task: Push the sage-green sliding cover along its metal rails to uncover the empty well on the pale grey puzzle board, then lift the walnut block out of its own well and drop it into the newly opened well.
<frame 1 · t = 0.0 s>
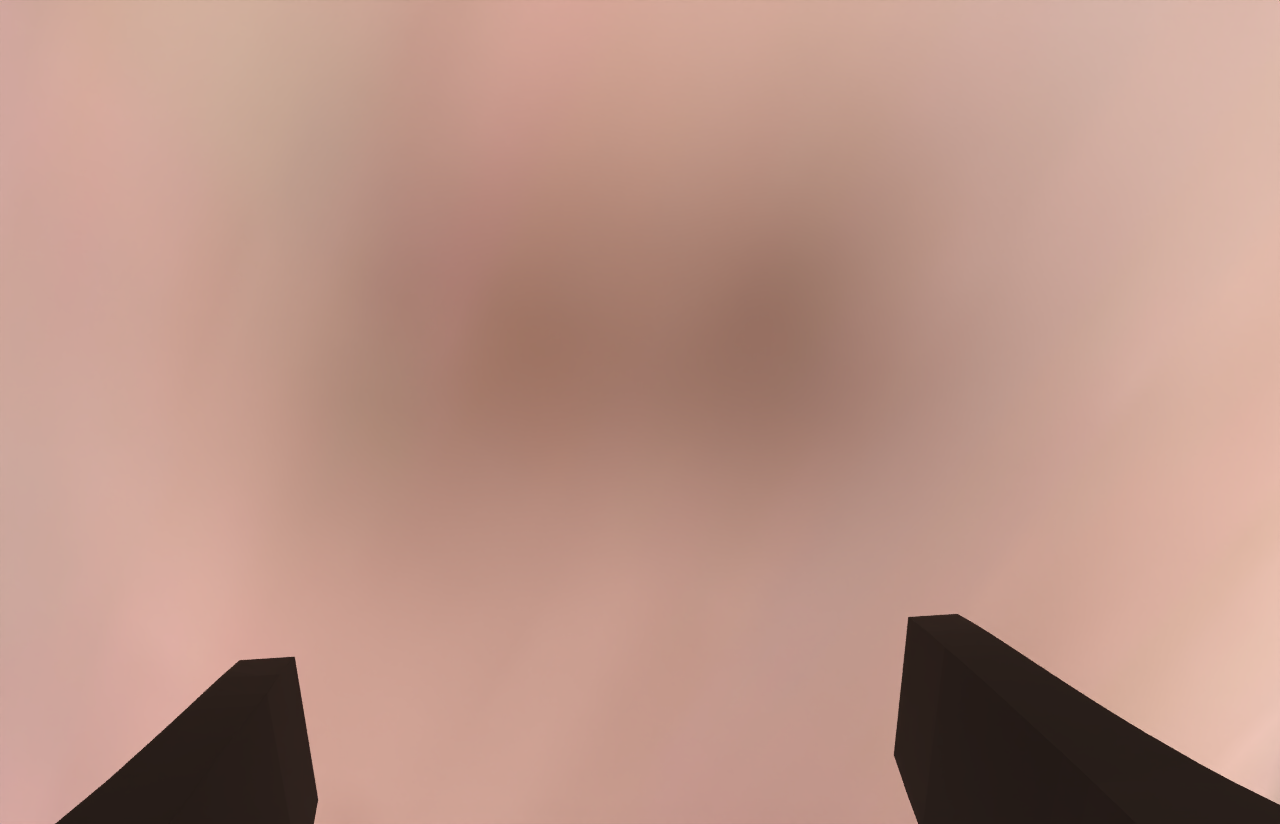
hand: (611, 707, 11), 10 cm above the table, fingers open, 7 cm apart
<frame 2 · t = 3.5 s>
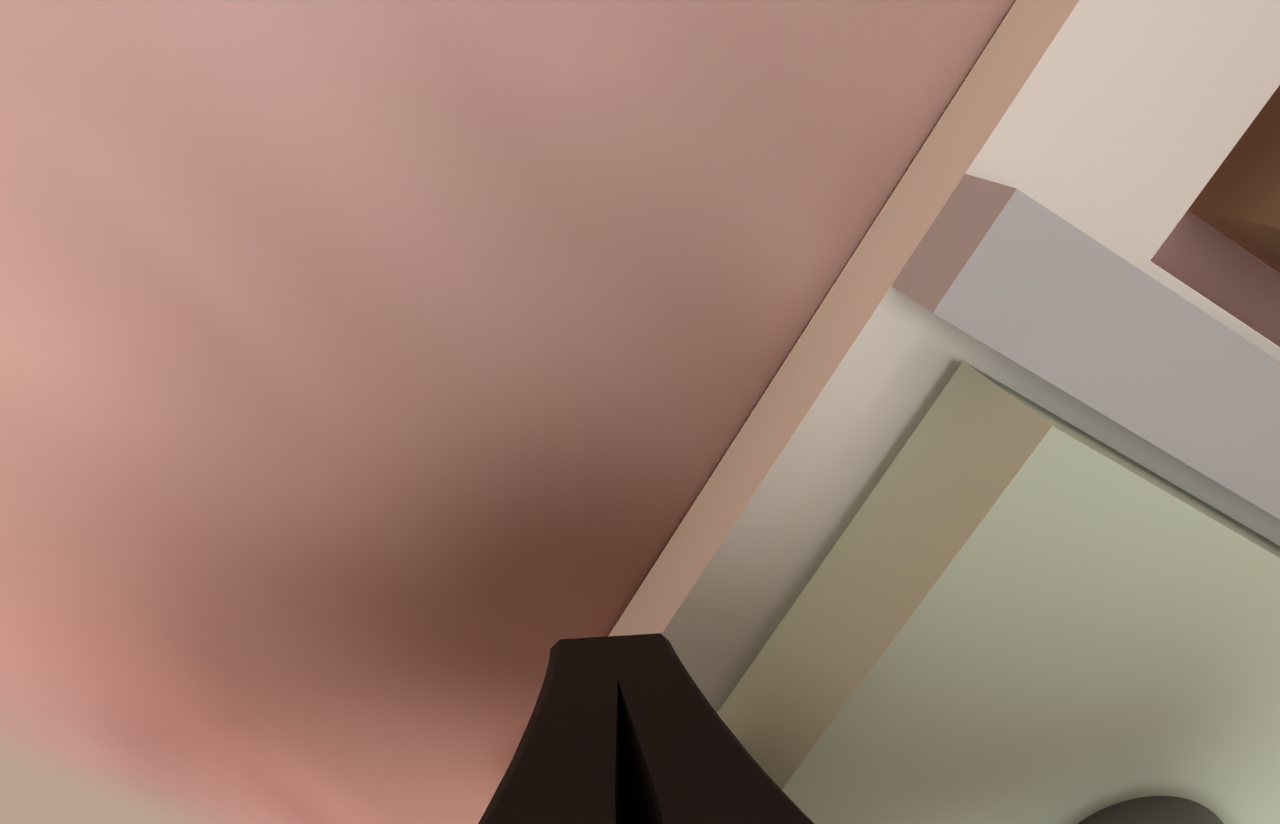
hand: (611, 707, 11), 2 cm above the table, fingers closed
puzzle board: (1172, 433, 13), on the table
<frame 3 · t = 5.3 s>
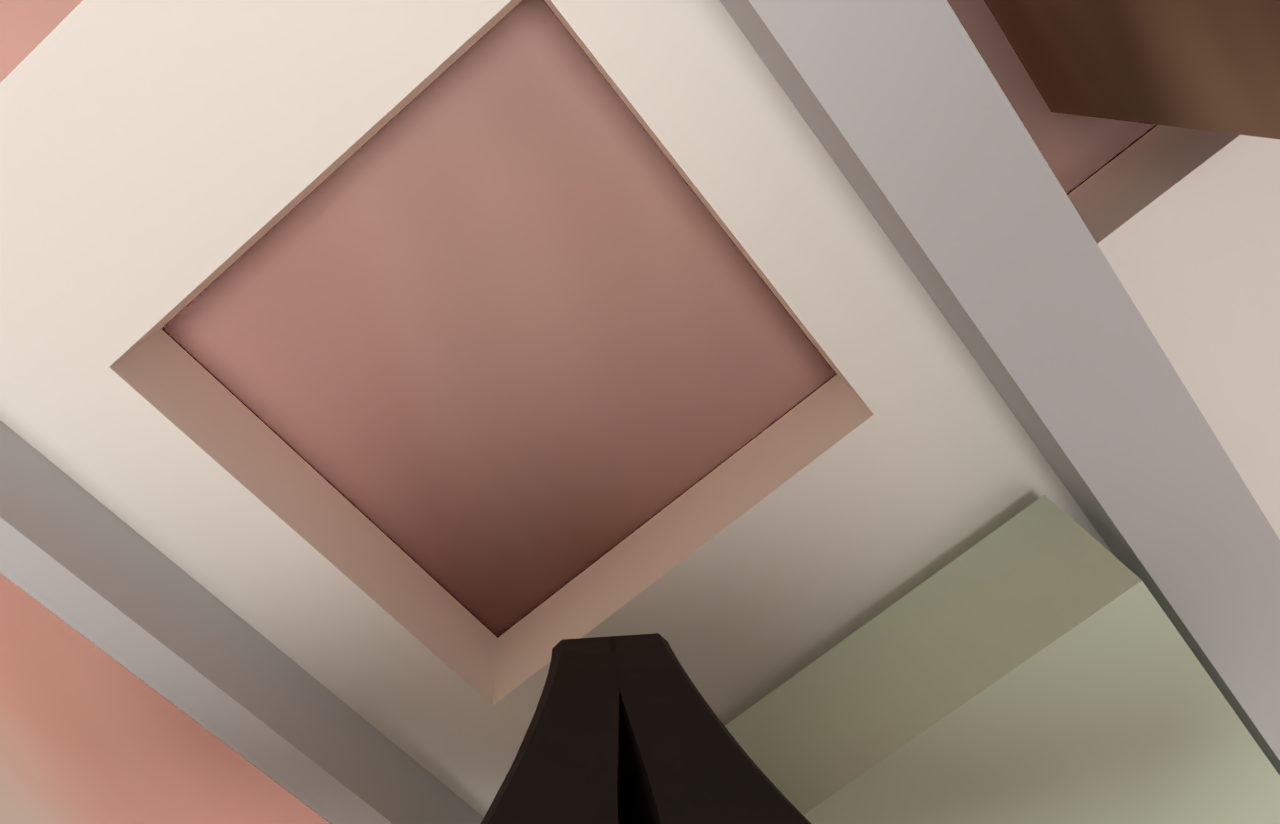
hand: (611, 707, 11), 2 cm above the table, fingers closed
puzzle board: (796, 116, 11), on the table
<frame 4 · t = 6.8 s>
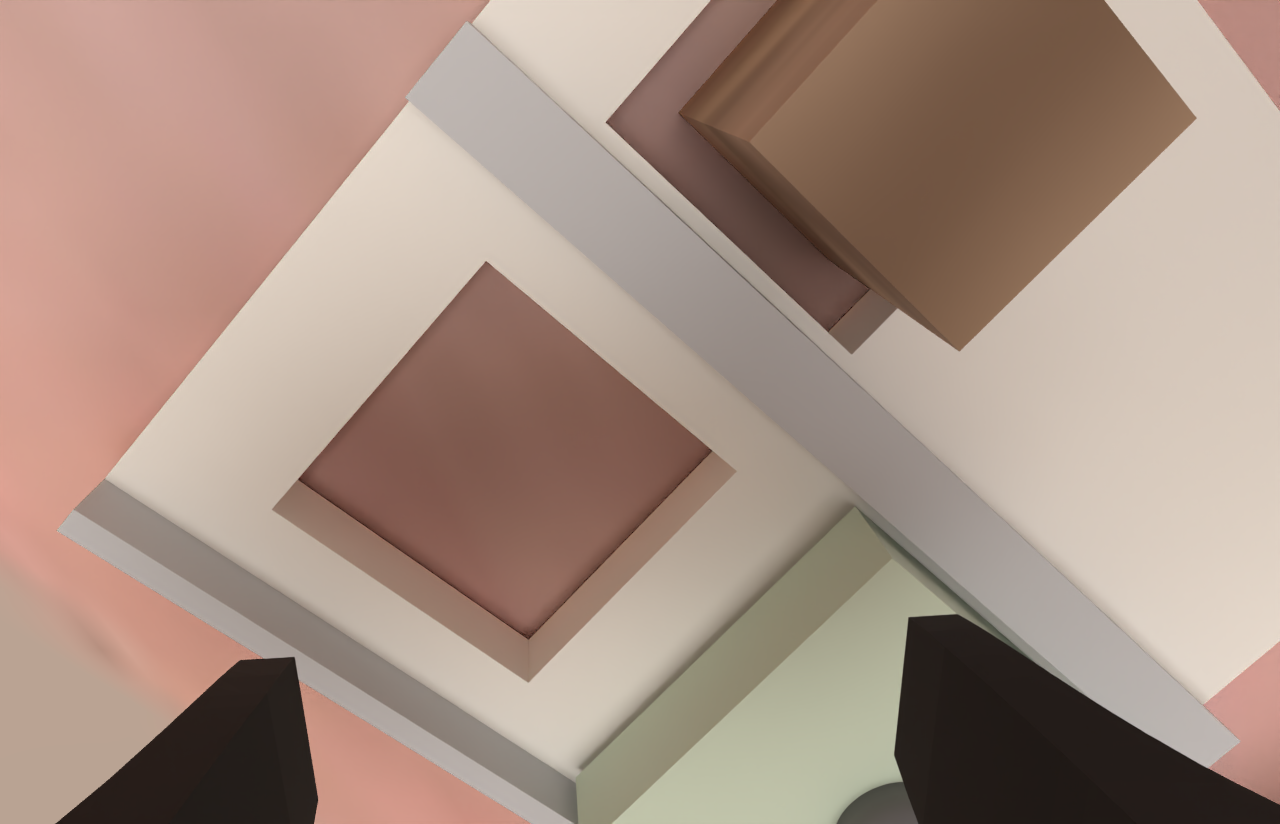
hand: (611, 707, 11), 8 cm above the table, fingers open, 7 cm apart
puzzle board: (664, 289, 18), on the table
sliding cover: (884, 812, 19), point 3 cm above the table, slide at 9.6 cm
walnut block: (833, 104, 17), resting in puzzle board
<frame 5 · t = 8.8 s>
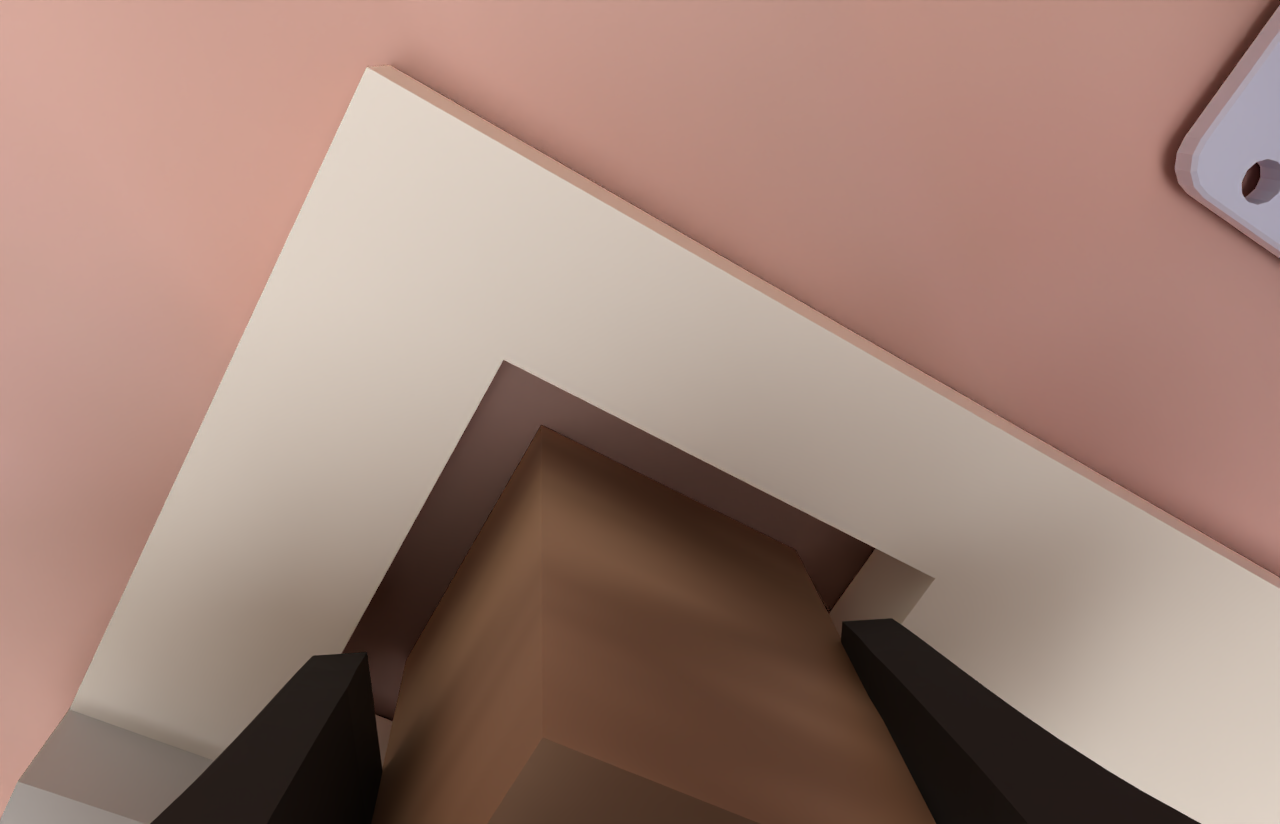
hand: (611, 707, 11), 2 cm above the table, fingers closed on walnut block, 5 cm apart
walnut block: (600, 605, 13), resting in puzzle board, touching gripper
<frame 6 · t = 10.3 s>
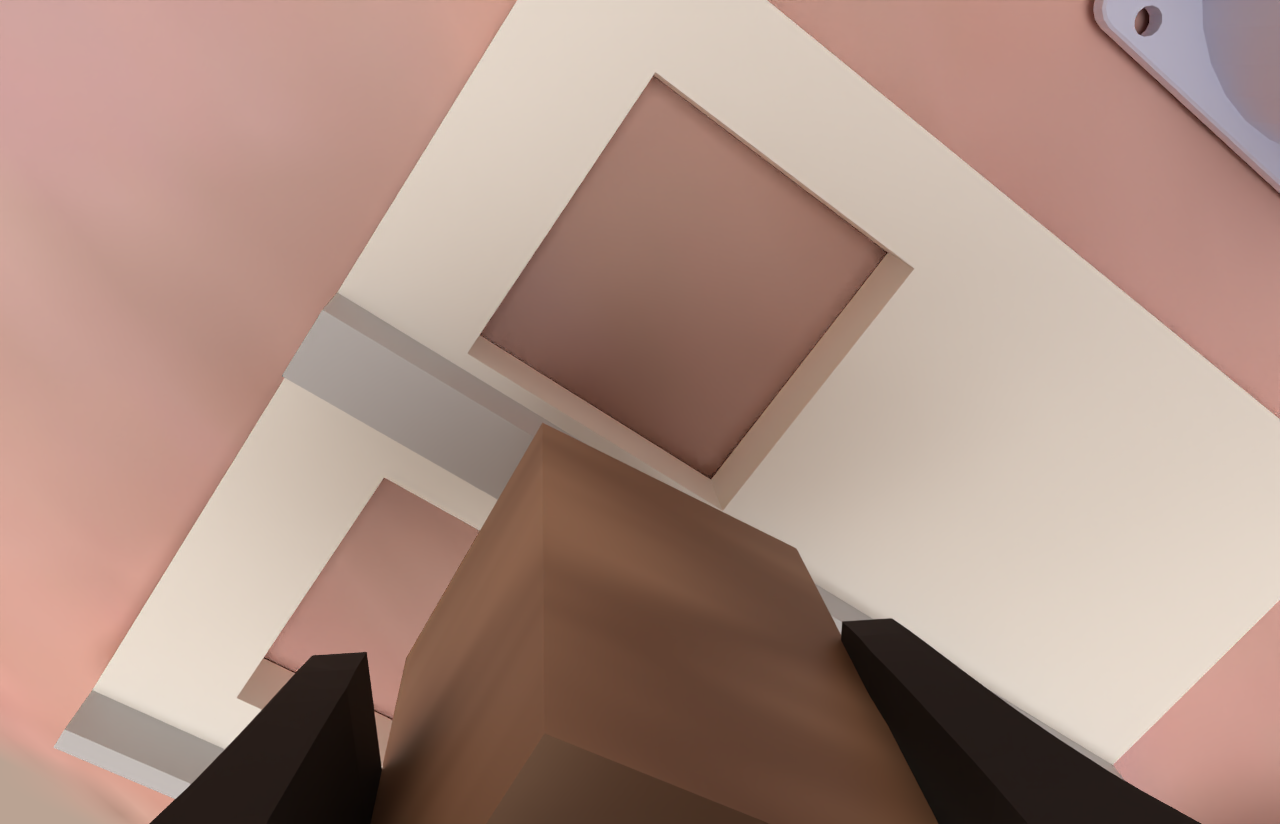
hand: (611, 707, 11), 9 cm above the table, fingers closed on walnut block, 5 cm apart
puzzle board: (556, 463, 20), on the table
walnut block: (601, 603, 13), point 7 cm above the table, touching gripper
when the fingers open (3 cm above the table, at t = 12.3 s): walnut block drops 1 cm, resting in puzzle board.
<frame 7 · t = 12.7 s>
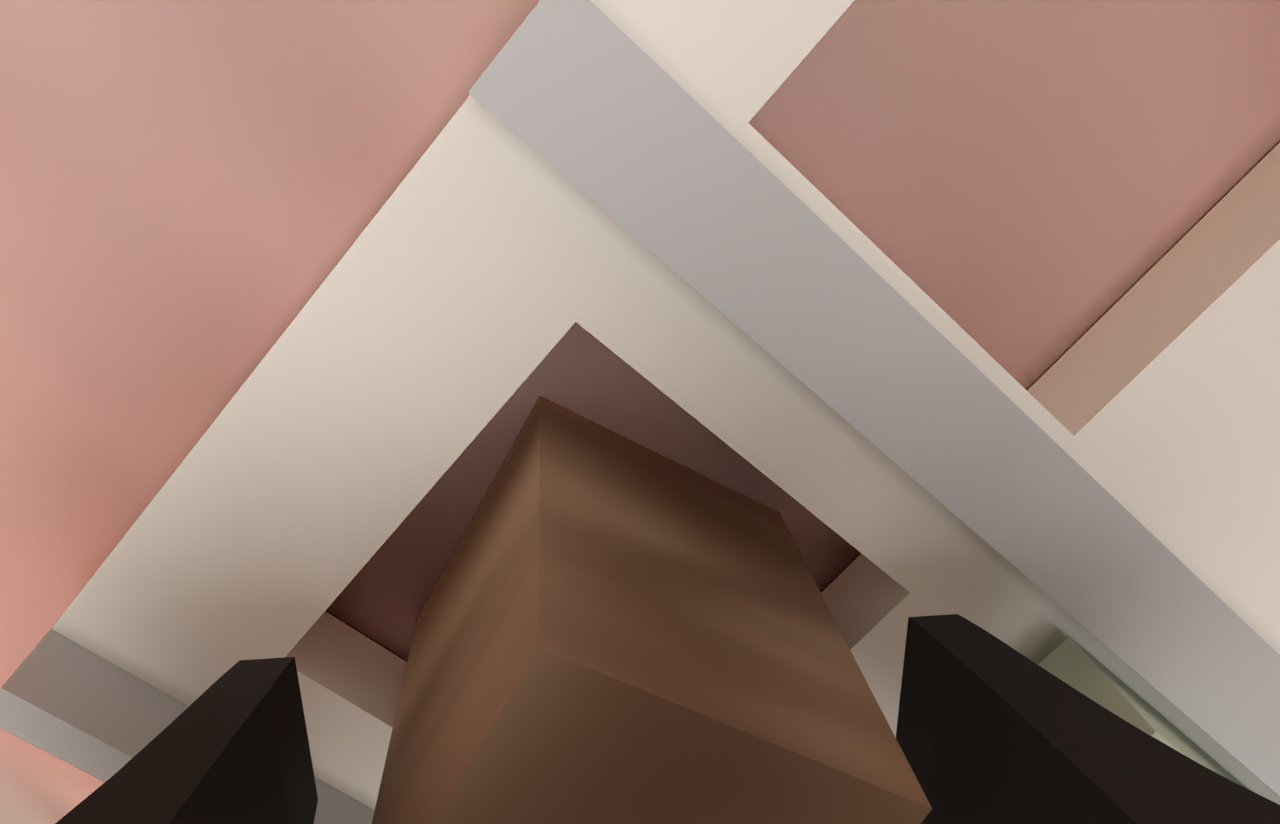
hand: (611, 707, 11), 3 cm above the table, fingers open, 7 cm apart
puzzle board: (806, 347, 13), on the table
walnut block: (597, 565, 14), resting in puzzle board
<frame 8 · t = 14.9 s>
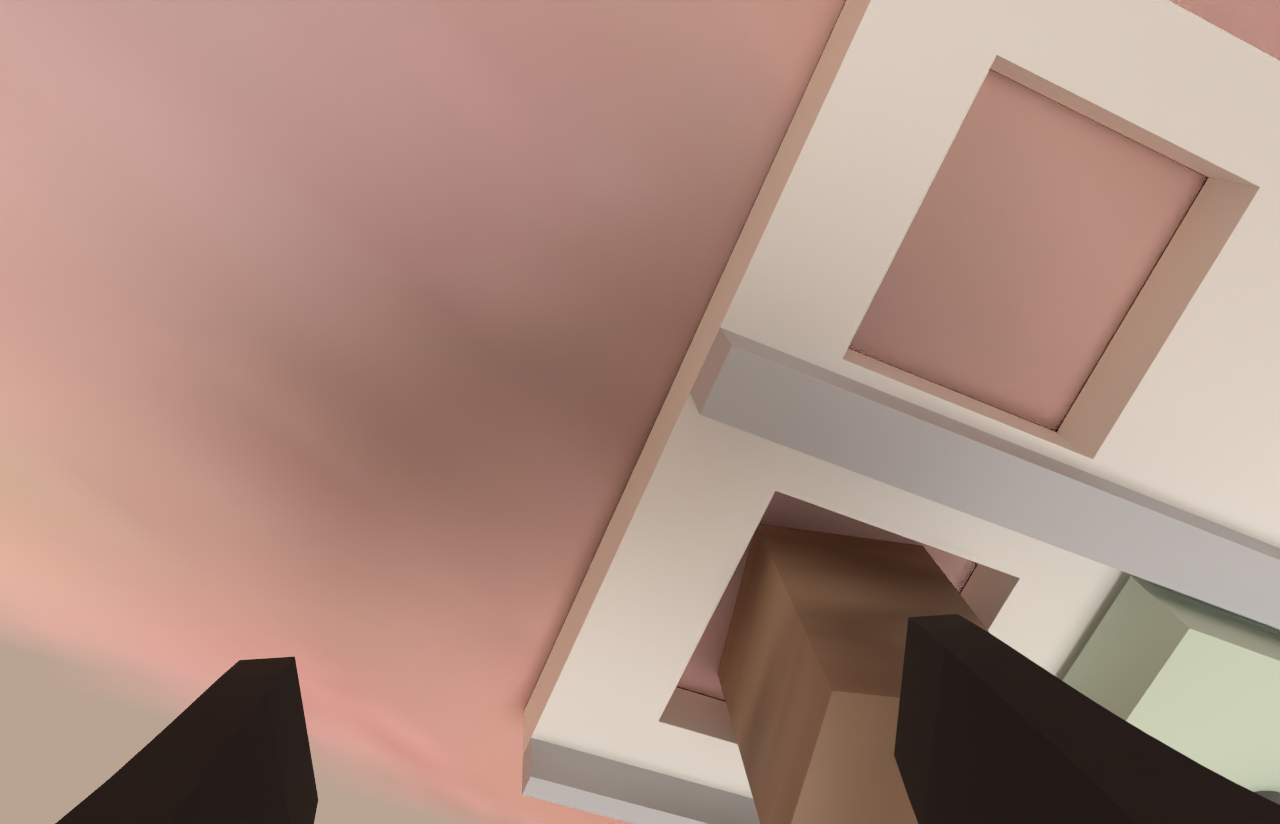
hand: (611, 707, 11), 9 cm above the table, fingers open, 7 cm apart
puzzle board: (909, 446, 21), on the table
sliding cover: (1233, 817, 21), point 3 cm above the table, slide at 9.6 cm
walnut block: (818, 609, 22), resting in puzzle board
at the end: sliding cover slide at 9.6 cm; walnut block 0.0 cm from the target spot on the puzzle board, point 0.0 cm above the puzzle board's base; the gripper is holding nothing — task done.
